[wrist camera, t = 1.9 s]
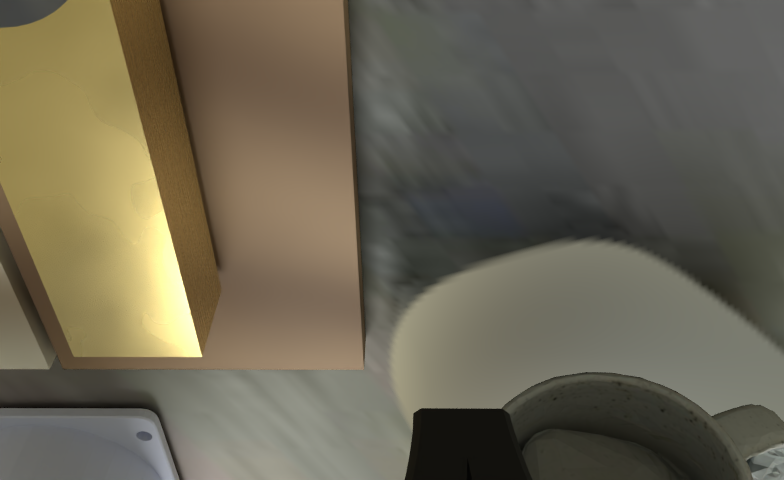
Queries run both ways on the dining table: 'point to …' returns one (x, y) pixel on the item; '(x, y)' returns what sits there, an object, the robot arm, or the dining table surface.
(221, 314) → the strike board
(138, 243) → the latch bar
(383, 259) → the dining table surface
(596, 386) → the ceramic mug
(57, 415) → the robot arm
